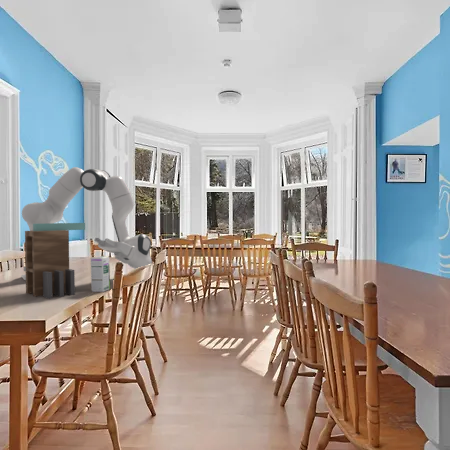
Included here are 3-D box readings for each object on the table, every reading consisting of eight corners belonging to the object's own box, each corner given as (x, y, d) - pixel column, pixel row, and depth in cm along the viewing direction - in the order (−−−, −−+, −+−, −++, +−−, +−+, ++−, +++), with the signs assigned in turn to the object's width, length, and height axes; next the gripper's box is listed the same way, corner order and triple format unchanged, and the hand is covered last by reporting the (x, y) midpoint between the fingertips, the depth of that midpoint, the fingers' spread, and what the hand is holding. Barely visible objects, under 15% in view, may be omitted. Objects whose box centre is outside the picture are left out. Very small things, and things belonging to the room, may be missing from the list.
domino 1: (48, 298, 148) (47, 272, 147) (43, 296, 151) (42, 271, 151) (52, 297, 149) (52, 272, 148) (47, 296, 152) (46, 271, 152)
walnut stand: (26, 293, 158) (24, 230, 157) (59, 288, 168) (58, 229, 168) (35, 296, 151) (33, 231, 150) (69, 291, 161) (68, 230, 161)
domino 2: (59, 296, 151) (59, 271, 151) (54, 294, 154) (54, 270, 154) (63, 296, 152) (63, 271, 152) (58, 294, 155) (58, 270, 155)
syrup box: (103, 292, 160) (103, 257, 159) (90, 291, 161) (90, 257, 160) (110, 289, 165) (109, 256, 165) (97, 289, 166) (97, 256, 166)
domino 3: (70, 294, 154) (70, 270, 154) (65, 293, 157) (65, 269, 157) (74, 294, 155) (74, 270, 155) (69, 292, 159) (69, 268, 158)
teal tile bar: (33, 230, 156) (33, 223, 156) (82, 229, 172) (82, 222, 172) (35, 231, 154) (35, 223, 154) (85, 229, 170) (85, 222, 169)
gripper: (115, 245, 194) (92, 232, 185) (137, 247, 180) (114, 234, 171) (109, 256, 192) (86, 244, 183) (132, 259, 177) (108, 246, 169)
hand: (100, 239), depth 177 cm, fingers open, 8 cm apart
